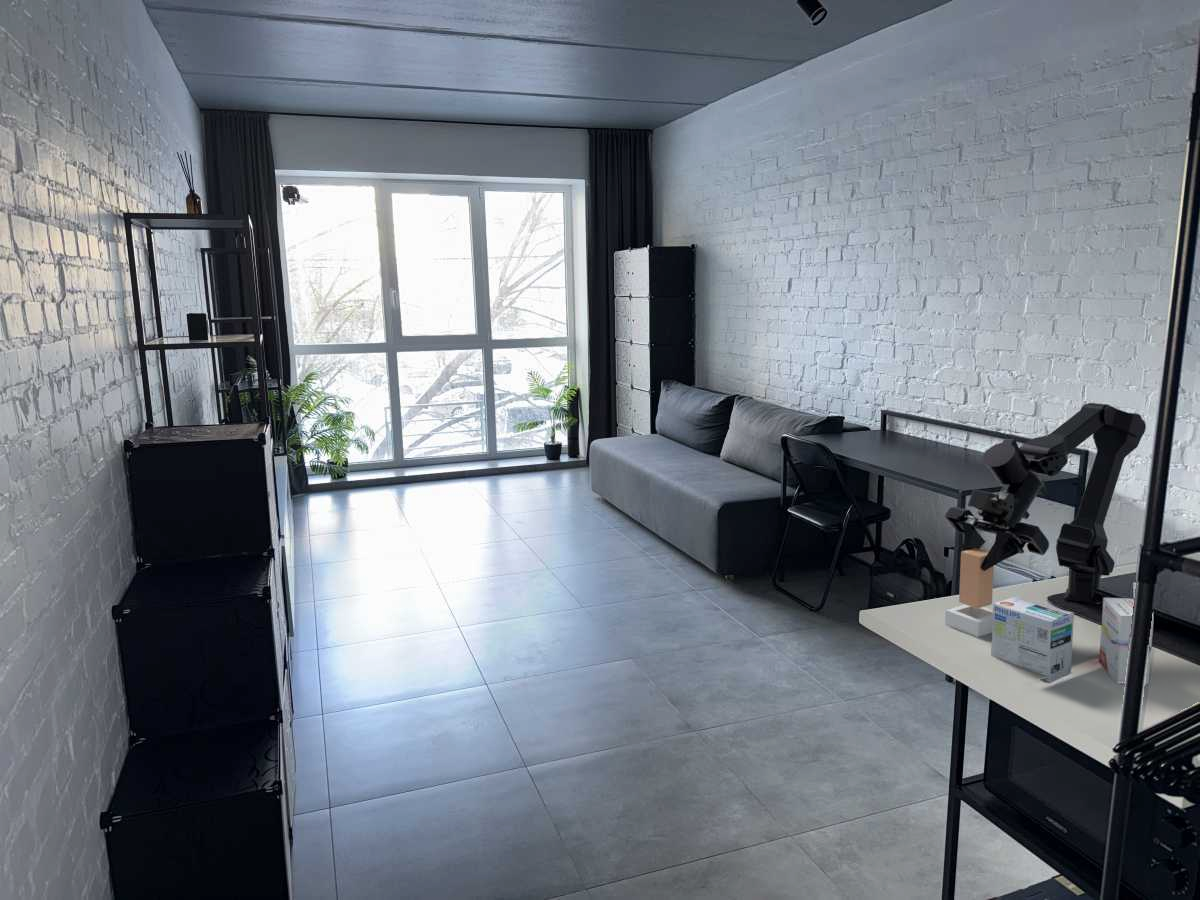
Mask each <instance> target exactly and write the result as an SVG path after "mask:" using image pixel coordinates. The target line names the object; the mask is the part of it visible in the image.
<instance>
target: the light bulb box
mask: <svg viewBox="0 0 1200 900" xmlns="http://www.w3.org/2000/svg"><path fill="white" fill-rule="evenodd" d="M992 605H993V608H992V610H993V624H992V633H991V646H990V647H991V649H990V656H992V657H994V658H996V659H999V660H1002V661H1004V662H1007V663H1010V664H1013V665H1015V666H1018V667H1021V668H1023V669H1027V670H1029V671H1032V672H1035V673H1037V674H1040V675H1043V676H1045V677H1043V678H1041V679H1039V680H1040V681H1042V682H1046V683H1048V684H1049V683H1050V682H1053V681H1056V680H1057V679H1060V678H1062V677H1065V676H1067V675H1069V674H1071V673H1072V658H1073V657H1072V655H1073V653H1072V652H1073V636H1074V618H1075V613H1074V612H1073V611H1068V610H1064V609H1061V608H1057V607H1053V606H1049V605H1046V604H1043V603H1040V602H1035V601H1032V600H1028V599H1025V598H1022V597H1019V596H1016V595H1015V596H1012V597H1009V598H1006V599H1003V600H1000V601H996V602H994V603H993V604H992Z"/></svg>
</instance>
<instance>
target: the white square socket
mask: <svg viewBox="0 0 1200 900" xmlns="http://www.w3.org/2000/svg"><path fill="white" fill-rule="evenodd" d="M944 615H945V616H944V617H945V618H944V624H945V626H948V627H950V628H953V629H956V630H959V631H961V632H964V633H966V634H969V635H972V636H974V637H977V638H978V637H982V636H985V635H989V634H992V624H993V609H991V608H988V607H987V606H984V607H981V608H978V609H977V608H974V607H971V606H969V605H966V604H962V605H959V606H955V607H952V608H948V609H945V613H944Z"/></svg>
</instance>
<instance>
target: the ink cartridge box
mask: <svg viewBox="0 0 1200 900" xmlns="http://www.w3.org/2000/svg"><path fill="white" fill-rule="evenodd" d="M1136 584H1137V583H1136V581H1134V582H1132V587H1133V588H1132V589H1133V590H1132V591H1133V593H1132V594H1133V598H1128V597H1126V598H1124V597H1121V598H1120V597H1102V615H1101V630H1100V642H1099V655H1098V656H1099V657H1098V658H1099V659H1098V663H1100V665H1101V666H1102V667H1103V668H1104V670H1105V671H1106V670H1107V671H1106V672H1107V673H1108V675H1111V676H1112V677H1113V678H1112V677H1111V676H1110V677H1111V678H1112V679H1113V681H1114V680H1115V681H1116V682H1118V683H1119V682H1121V683H1122V682H1123V685H1125V684H1124V682H1125V676H1126V667H1127V659H1128V651H1129V643H1130V635H1131V624H1132V615H1133V606H1134V598H1135V589H1136ZM1154 618H1155V617H1154V612H1153V613H1152V621H1151V629H1150V637H1149V651H1148V663H1147V673H1146V683H1145V685H1144V686H1147V685H1149V683H1150V681H1149V680H1150V669H1151V655H1152V644H1153V632H1154V621H1155V620H1154ZM1115 681H1114V682H1115ZM1116 682H1115V683H1116ZM1118 683H1117V684H1118ZM1119 684H1120V683H1119Z"/></svg>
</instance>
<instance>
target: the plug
mask: <svg viewBox="0 0 1200 900" xmlns="http://www.w3.org/2000/svg"><path fill="white" fill-rule="evenodd" d="M988 552H989V551H988V550H984V549H981V548H980V549H977V548H974V549H970V550H966V551H962V550H961V551H960V559H961V562H960V567H959V568H960V570H959V571H960V572H959V575H960V576H959V589H958V591H959V593H958V595H959V596H958V603H960V604H962V605H965V604H966V605H969V606H971V607H974V608H977V609H978V608H981V607H988V606H991V605H993V594H994V593H993V591H994V590H993V586H994V573H995V572H994V568H995V565H994V566H992V567H991V568H989V569H987V570H986V571H983V570H982V569H981V565H982V563H983V561H984V559H985V557H986V556H987V554H988Z"/></svg>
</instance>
